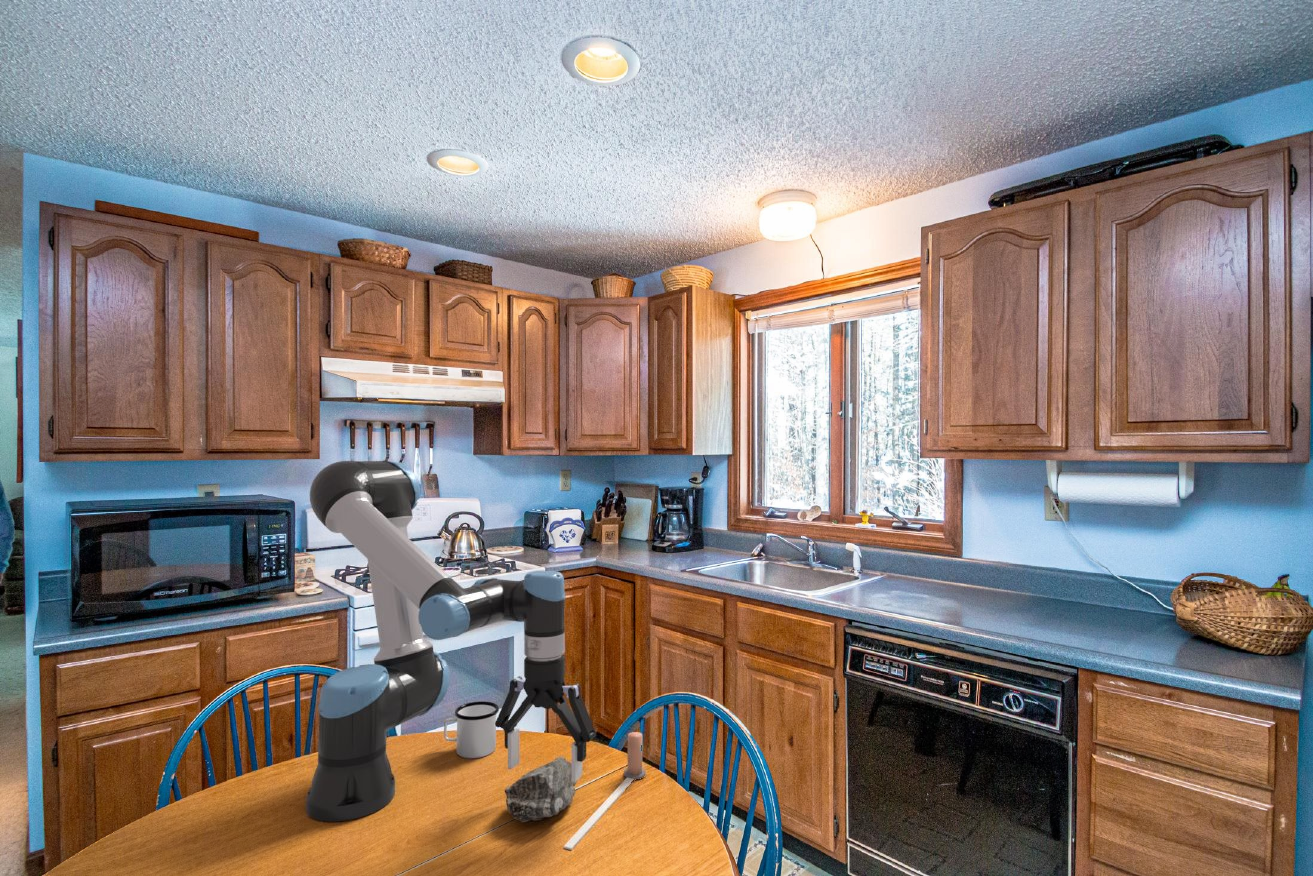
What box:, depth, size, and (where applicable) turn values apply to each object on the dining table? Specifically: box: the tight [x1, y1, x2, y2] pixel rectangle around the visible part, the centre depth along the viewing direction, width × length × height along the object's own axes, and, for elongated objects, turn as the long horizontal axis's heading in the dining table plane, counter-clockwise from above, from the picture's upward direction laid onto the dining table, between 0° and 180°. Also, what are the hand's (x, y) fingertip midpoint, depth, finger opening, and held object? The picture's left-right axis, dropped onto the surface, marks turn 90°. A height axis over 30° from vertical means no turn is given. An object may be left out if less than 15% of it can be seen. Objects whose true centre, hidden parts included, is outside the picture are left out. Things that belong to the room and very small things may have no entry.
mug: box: [443, 700, 500, 759], centre depth 143 cm, size 12×10×9 cm
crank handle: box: [563, 731, 647, 851], centre depth 120 cm, size 4×30×8 cm, turn 158°
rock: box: [504, 756, 578, 823], centre depth 120 cm, size 18×10×10 cm
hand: (544, 772), depth 120 cm, fingers open, 13 cm apart
